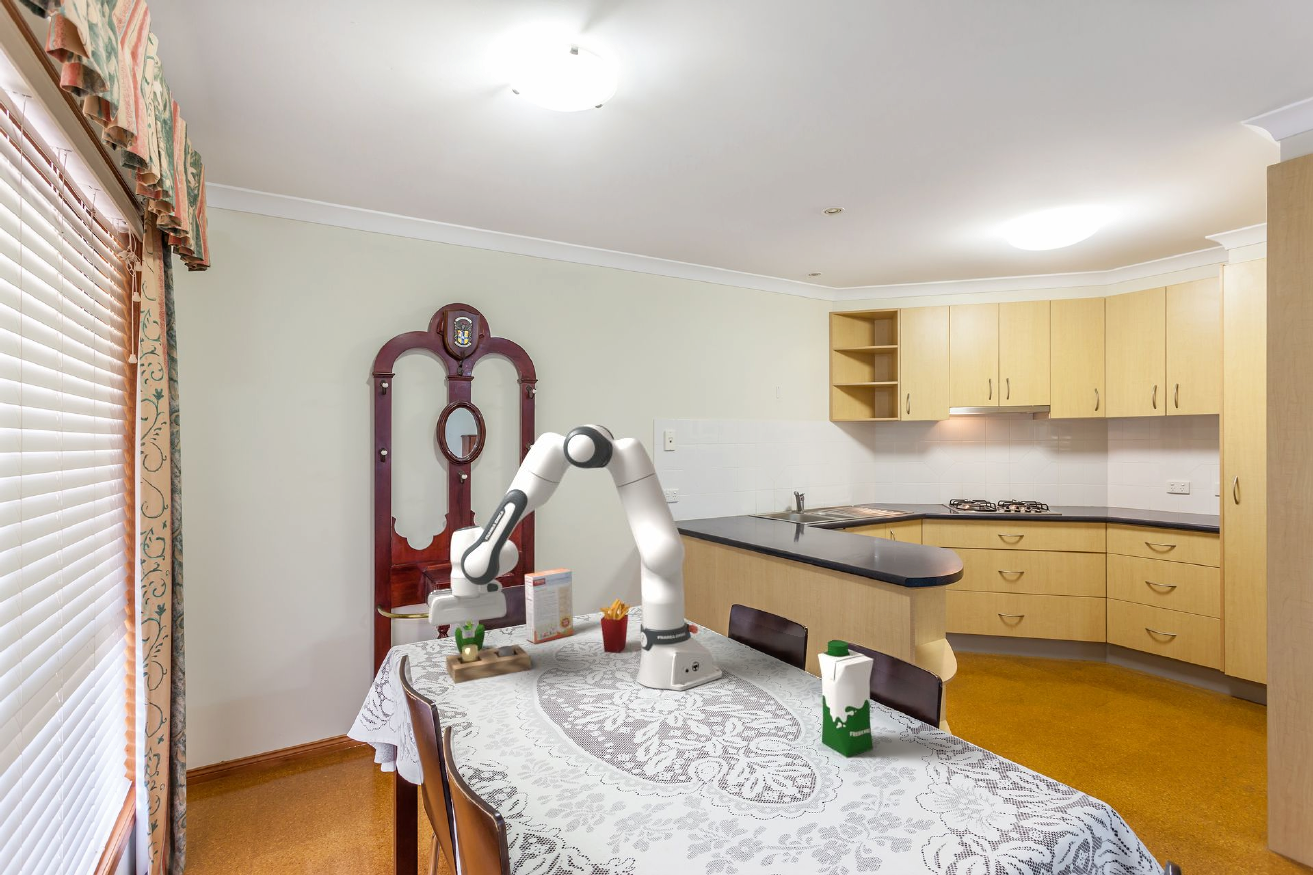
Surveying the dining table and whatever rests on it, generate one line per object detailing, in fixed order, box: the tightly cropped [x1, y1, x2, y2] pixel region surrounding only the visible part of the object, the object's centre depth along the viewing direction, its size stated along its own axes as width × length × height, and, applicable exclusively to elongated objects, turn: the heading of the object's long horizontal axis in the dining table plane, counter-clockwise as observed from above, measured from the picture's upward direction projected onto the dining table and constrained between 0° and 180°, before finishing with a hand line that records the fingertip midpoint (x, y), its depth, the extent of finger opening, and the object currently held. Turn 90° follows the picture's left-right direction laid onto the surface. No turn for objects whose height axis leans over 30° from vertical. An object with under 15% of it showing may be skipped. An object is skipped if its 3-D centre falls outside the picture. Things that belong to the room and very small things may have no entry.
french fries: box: [599, 598, 632, 654], centre depth 195 cm, size 9×8×15 cm
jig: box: [445, 644, 531, 684], centre depth 180 cm, size 20×12×5 cm, turn 118°
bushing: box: [462, 645, 478, 664], centre depth 178 cm, size 4×4×7 cm
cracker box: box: [524, 567, 574, 645], centre depth 208 cm, size 14×6×21 cm, turn 128°
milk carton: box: [817, 640, 874, 758], centre depth 132 cm, size 9×9×20 cm
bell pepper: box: [454, 621, 486, 654], centre depth 194 cm, size 8×8×10 cm
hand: (468, 637), depth 178 cm, fingers closed
